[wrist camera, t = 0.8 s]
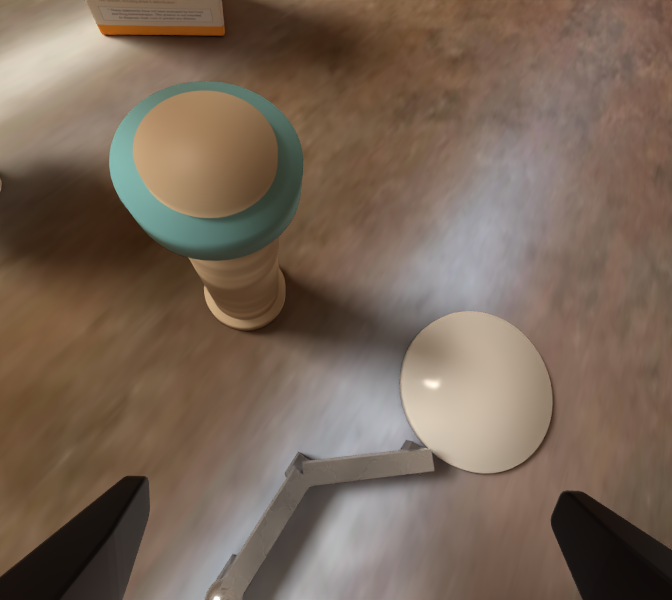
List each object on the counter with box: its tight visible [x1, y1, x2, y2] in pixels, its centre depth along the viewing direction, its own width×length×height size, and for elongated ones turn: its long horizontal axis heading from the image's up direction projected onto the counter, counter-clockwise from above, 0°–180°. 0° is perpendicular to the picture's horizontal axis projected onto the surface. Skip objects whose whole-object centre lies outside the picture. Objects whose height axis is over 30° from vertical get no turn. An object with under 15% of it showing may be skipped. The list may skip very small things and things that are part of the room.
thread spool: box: [109, 81, 303, 331], centre depth 16 cm, size 5×5×13 cm
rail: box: [205, 440, 434, 600], centre depth 19 cm, size 11×6×2 cm, turn 146°
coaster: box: [399, 311, 553, 473], centre depth 22 cm, size 9×9×1 cm
